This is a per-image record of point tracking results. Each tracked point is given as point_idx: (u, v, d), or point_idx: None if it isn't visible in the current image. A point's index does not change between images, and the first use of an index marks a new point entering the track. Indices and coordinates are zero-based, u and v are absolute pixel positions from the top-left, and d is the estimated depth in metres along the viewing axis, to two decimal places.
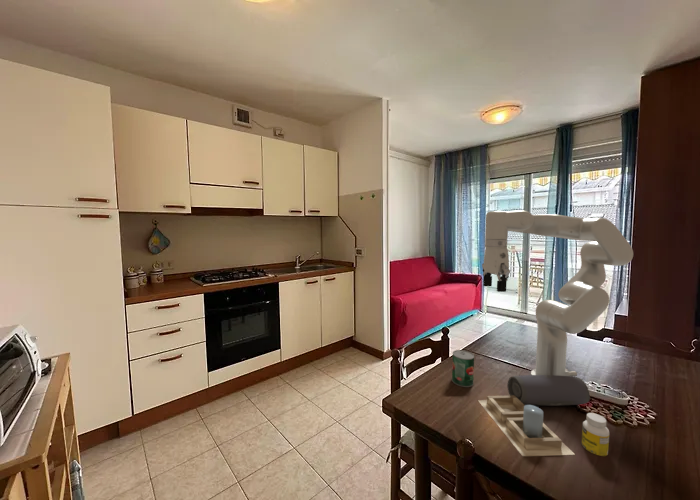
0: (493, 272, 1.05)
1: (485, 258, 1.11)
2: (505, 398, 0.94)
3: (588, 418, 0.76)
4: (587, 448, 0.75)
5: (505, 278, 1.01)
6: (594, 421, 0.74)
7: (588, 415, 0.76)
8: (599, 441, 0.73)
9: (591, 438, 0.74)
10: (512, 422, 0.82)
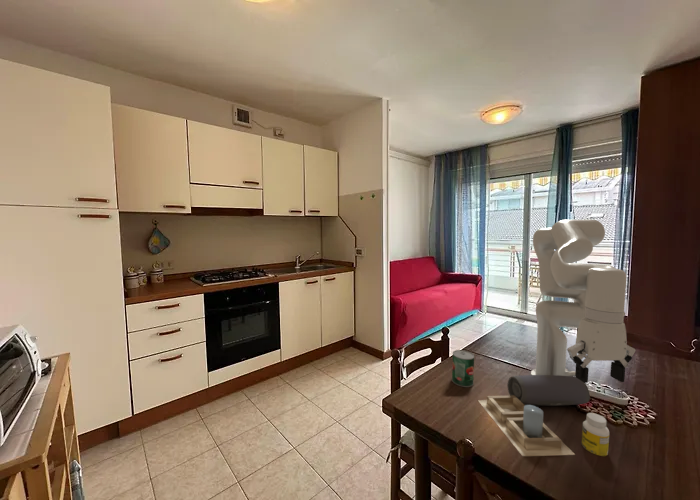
0: (618, 358, 0.72)
1: (599, 341, 0.71)
2: (505, 398, 0.94)
3: (588, 418, 0.76)
4: (587, 448, 0.75)
5: None
6: (594, 421, 0.74)
7: (588, 415, 0.76)
8: (599, 441, 0.73)
9: (591, 438, 0.74)
10: (512, 422, 0.82)
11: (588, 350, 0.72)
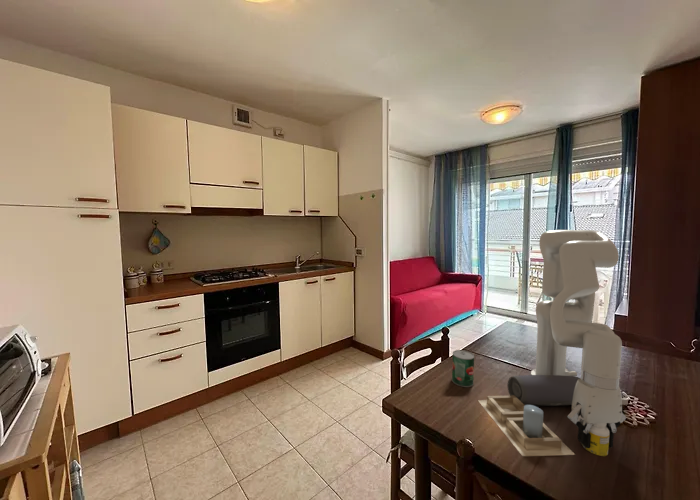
0: (614, 421, 0.73)
1: (595, 405, 0.73)
2: (505, 398, 0.94)
3: None
4: (587, 448, 0.75)
5: None
6: None
7: None
8: (599, 440, 0.73)
9: (591, 438, 0.74)
10: (512, 422, 0.82)
11: (584, 413, 0.73)
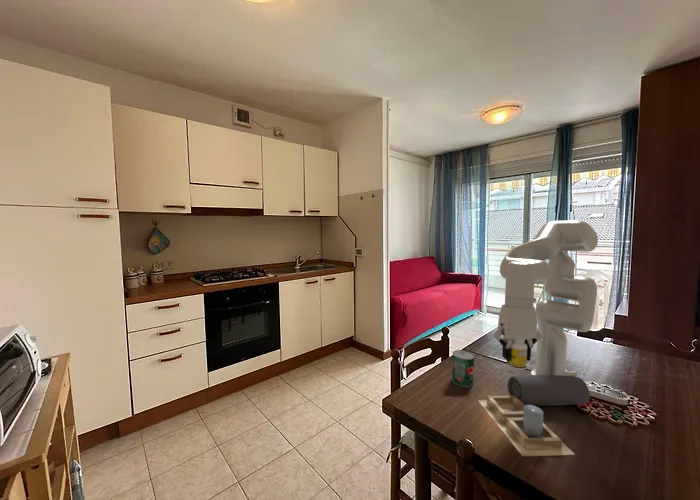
0: (530, 337, 0.86)
1: (514, 323, 0.85)
2: (505, 398, 0.94)
3: None
4: (509, 362, 0.88)
5: None
6: None
7: None
8: (518, 354, 0.86)
9: (512, 353, 0.87)
10: (512, 422, 0.82)
11: (505, 331, 0.86)
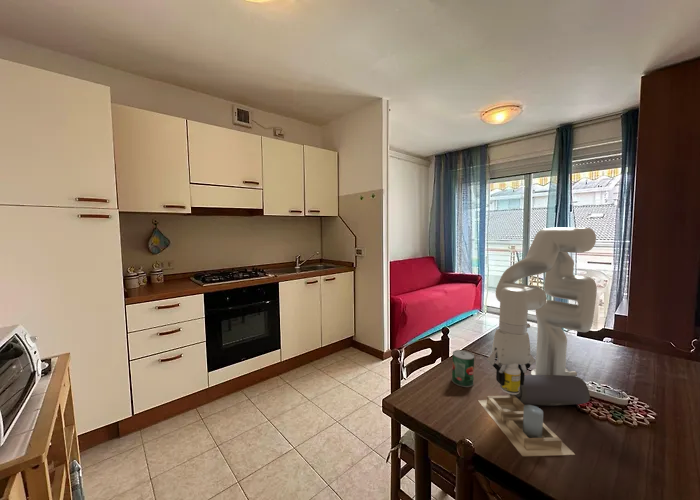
0: (523, 362, 0.88)
1: (507, 348, 0.87)
2: (505, 398, 0.94)
3: None
4: (503, 386, 0.89)
5: None
6: None
7: None
8: (511, 378, 0.87)
9: (505, 377, 0.88)
10: (512, 422, 0.82)
11: (498, 356, 0.88)
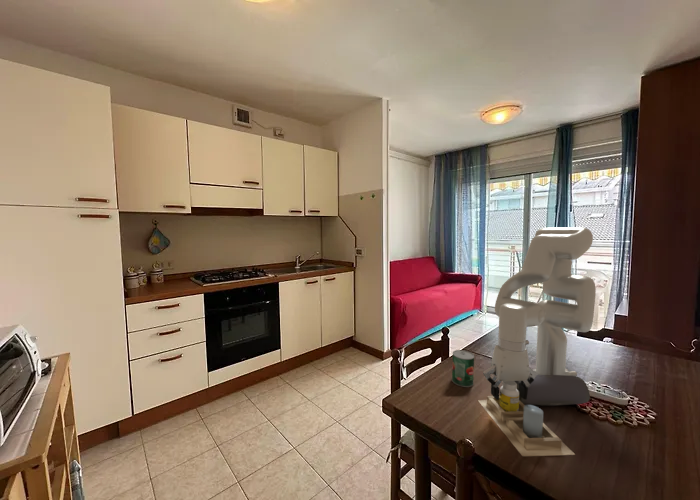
0: (522, 379, 0.88)
1: (506, 365, 0.87)
2: None
3: (503, 383, 0.91)
4: (502, 407, 0.90)
5: None
6: (506, 385, 0.89)
7: None
8: (510, 400, 0.88)
9: (504, 399, 0.89)
10: (512, 422, 0.82)
11: (497, 372, 0.88)
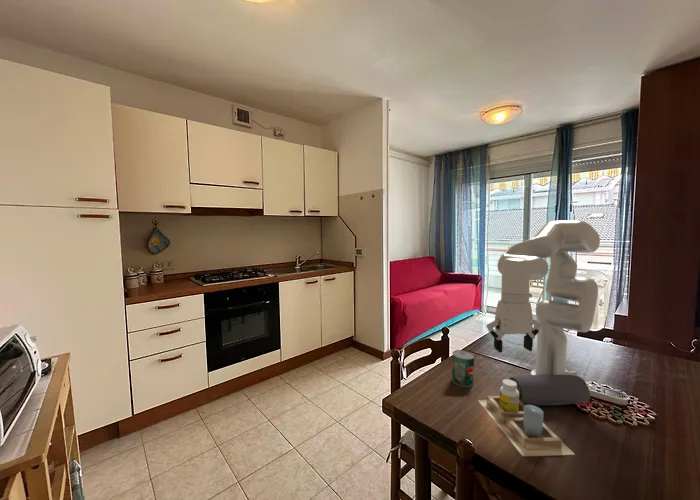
0: (526, 331, 0.88)
1: (509, 318, 0.88)
2: None
3: (503, 383, 0.90)
4: (502, 407, 0.90)
5: None
6: (506, 385, 0.89)
7: (503, 381, 0.91)
8: (510, 401, 0.88)
9: (504, 399, 0.89)
10: (512, 422, 0.82)
11: (501, 326, 0.88)
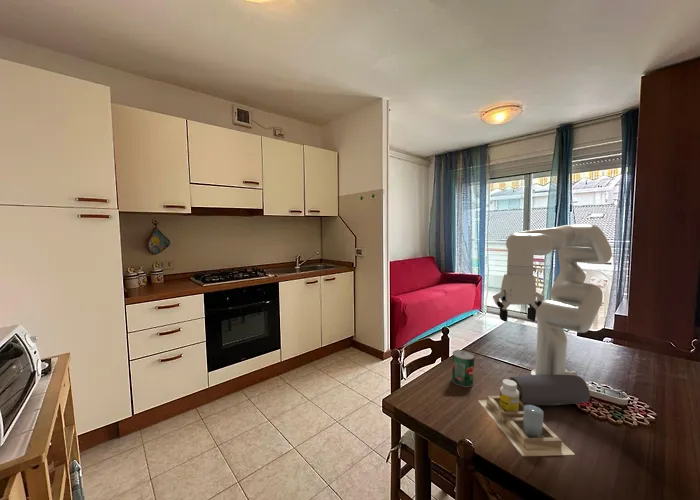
0: (530, 302, 0.95)
1: (515, 289, 0.94)
2: None
3: (503, 383, 0.90)
4: (502, 407, 0.90)
5: None
6: (506, 385, 0.89)
7: (503, 381, 0.91)
8: (510, 401, 0.88)
9: (504, 399, 0.89)
10: (512, 422, 0.82)
11: (507, 296, 0.95)
